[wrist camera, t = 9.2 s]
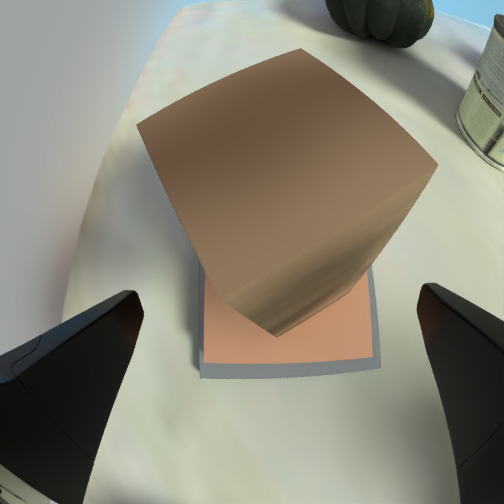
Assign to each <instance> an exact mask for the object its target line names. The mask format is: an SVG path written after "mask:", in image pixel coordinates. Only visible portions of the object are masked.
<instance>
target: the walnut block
mask: <svg viewBox="0 0 504 504" xmlns="http://www.w3.org/2000/svg"><path fill="white" fill-rule="evenodd" d="M136 126H137V128H138V130H139V133H140V135H141V137H142V140H143V142H144V144H145V146H146V149H147V151H148V153H149V155H150V158H151V160H152V162H153V164H154V167H155V169H156V171H157V173H158V175H159V178H160V180H161V182H162V184H163V186H164V188H165V191H166V193H167V195H168V197H169V199H170V201H171V203H172V205H173V207H174V209H175V212H176V214H177V216H178V218H179V220H180V222H181V224H182V226H183V228H184V230H185V232H186V234H187V236H188V238H189V240H190V242H191V244H192V246H193V248H194V250H195V252H196V254H197V256H198V258H199V260H200V262H201V264H202V266H203V268H204V270H205V272H206V274H207V276H208V277H209V279H210V281H211V283H212V285H213V287H214V289H215V291H216V293H217V295H218V296H219V298H220V300H221V301H223V302H224V303H226V304H227V305H229V306H230V307H232V308H233V309H234V310H236V311H237V312H239V313H240V314H242V315H243V316H245V317H246V318H248V319H249V320H251V321H252V322H254V323H255V324H257V325H258V326H260V327H261V328H263V329H264V330H266V331H267V332H269V333H270V334H272V335H273V336H275V337H276V338H277V337H279V336H281V335H283V334H284V333H286V332H288V331H289V330H291V329H293V328H294V327H296V326H298V325H299V324H301V323H303V322H304V321H306V320H307V319H309V318H311V317H312V316H314V315H316V314H317V313H319V312H320V311H322V310H323V309H325V308H327V307H328V306H330V305H331V304H333V303H334V302H336V301H337V300H339V299H340V298H342V297H343V296H345V295H347V294H348V293H350V291H351V290H352V289H353V288H354V286H355V285H356V284H357V283H358V281H359V280H360V279H361V277H362V276H363V275H364V274H365V272H366V271H367V270H368V268H369V267H370V266H371V264H372V263H373V262H374V260H375V259H376V258H377V256H378V255H379V254H380V252H381V251H382V250H383V248H384V247H385V246H386V244H387V243H388V241H389V240H390V239H391V237H392V236H393V234H394V233H395V232H396V230H397V229H398V227H399V226H400V224H401V223H402V221H403V220H404V219H405V217H406V216H407V214H408V213H409V211H410V210H411V208H412V207H413V205H414V204H415V202H416V201H417V199H418V197H419V196H420V194H421V193H422V191H423V190H424V188H425V186H426V185H427V183H428V182H429V180H430V178H431V177H432V175H433V173H434V172H435V170H436V168H437V167H438V164H437V163H436V161H435V160H434V159H433V158H432V157H431V156H430V155H429V154H428V153H427V152H426V151H425V150H424V149H423V147H422V146H421V145H420V144H419V143H418V142H417V141H416V140H415V139H414V138H413V137H412V136H411V135H410V134H409V133H408V132H407V131H406V130H405V129H404V128H402V127H401V126H400V125H399V124H398V123H397V122H396V121H395V120H394V119H393V118H392V117H391V116H390V115H388V114H387V113H386V112H385V111H384V110H383V109H382V108H381V107H379V106H378V105H377V104H376V103H375V102H374V101H372V100H371V99H370V98H369V97H368V96H366V95H365V94H364V93H363V92H361V91H360V90H359V89H358V88H356V87H355V86H354V85H353V84H351V83H350V82H349V81H347V80H346V79H345V78H343V77H342V76H341V75H339V74H338V73H337V72H335V71H334V70H332V69H331V68H330V67H328V66H327V65H325V64H324V63H322V62H321V61H319V60H318V59H316V58H315V57H313V56H312V55H310V54H309V53H307V52H306V51H304V50H303V49H301V48H300V49H297V50H294V51H291V52H288V53H285V54H282V55H279V56H276V57H274V58H271V59H268V60H265V61H263V62H260V63H258V64H255V65H253V66H250V67H248V68H245V69H243V70H240V71H238V72H236V73H233V74H231V75H229V76H227V77H224V78H222V79H220V80H218V81H216V82H214V83H211V84H209V85H207V86H205V87H203V88H201V89H199V90H197V91H195V92H193V93H191V94H189V95H187V96H185V97H183V98H182V99H180V100H178V101H176V102H174V103H172V104H171V105H169V106H167V107H165V108H163V109H162V110H160V111H158V112H157V113H155V114H153V115H151V116H150V117H148V118H146V119H145V120H143V121H142V122H140V123H138V124H137V125H136Z"/></svg>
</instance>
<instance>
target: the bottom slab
mask: <svg viewBox="0 0 504 504" xmlns="http://www.w3.org/2000/svg"><path fill="white" fill-rule="evenodd" d="M367 276H368V286H369V298H370V311H371V327H372V351H373V357H368V358H358V359H348V360H336V361H323V362H305V363H278V364H229V363H204V301H205V270H204V268H203V266H202V264H201V262H200V260H199V366H200V378H210V379H266V378H289V377H305V376H318V375H329V374H339V373H347V372H355V371H363V370H370V369H377V368H381V363H380V344H379V329H378V317H377V307H376V297H375V288H374V280H373V273H372V265H371V266H370V267H369V268H368V270H367Z"/></svg>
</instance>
